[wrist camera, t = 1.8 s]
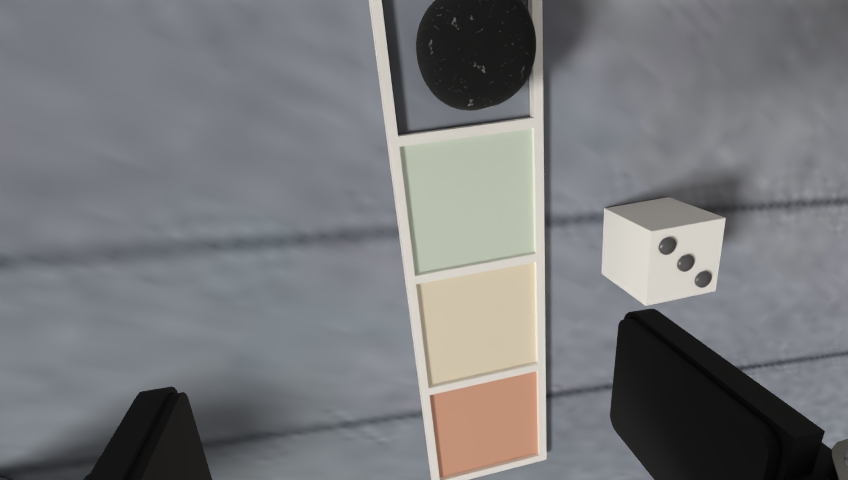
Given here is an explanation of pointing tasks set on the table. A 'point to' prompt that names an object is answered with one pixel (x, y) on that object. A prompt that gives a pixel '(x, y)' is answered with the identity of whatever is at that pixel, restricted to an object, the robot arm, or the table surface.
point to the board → (474, 277)
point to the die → (662, 249)
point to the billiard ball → (475, 51)
